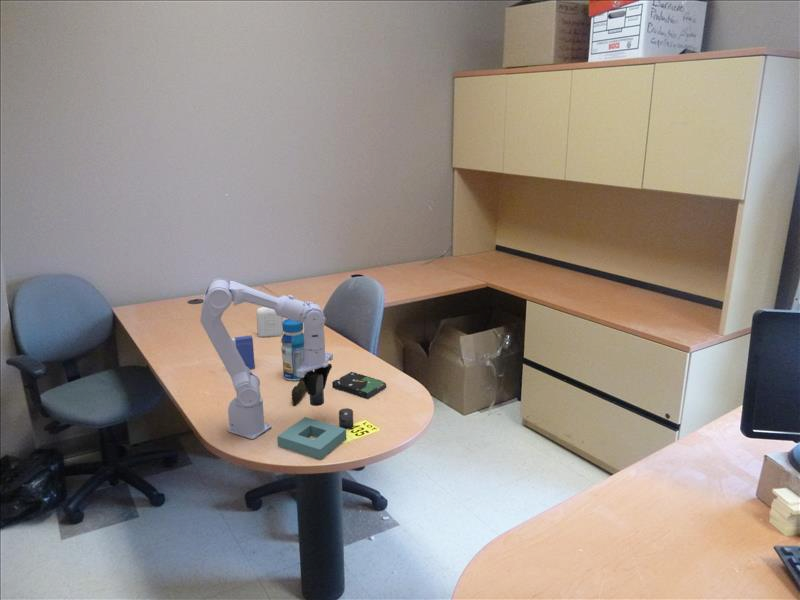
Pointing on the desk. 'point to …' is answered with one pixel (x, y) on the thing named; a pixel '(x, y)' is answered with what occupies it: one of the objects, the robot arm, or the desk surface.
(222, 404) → the desk surface
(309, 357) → the robot arm
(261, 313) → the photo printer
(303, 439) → the hole block
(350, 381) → the disk drive
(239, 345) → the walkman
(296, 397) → the hand tool
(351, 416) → the short pin
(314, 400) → the tall pin
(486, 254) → the desk surface
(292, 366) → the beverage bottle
